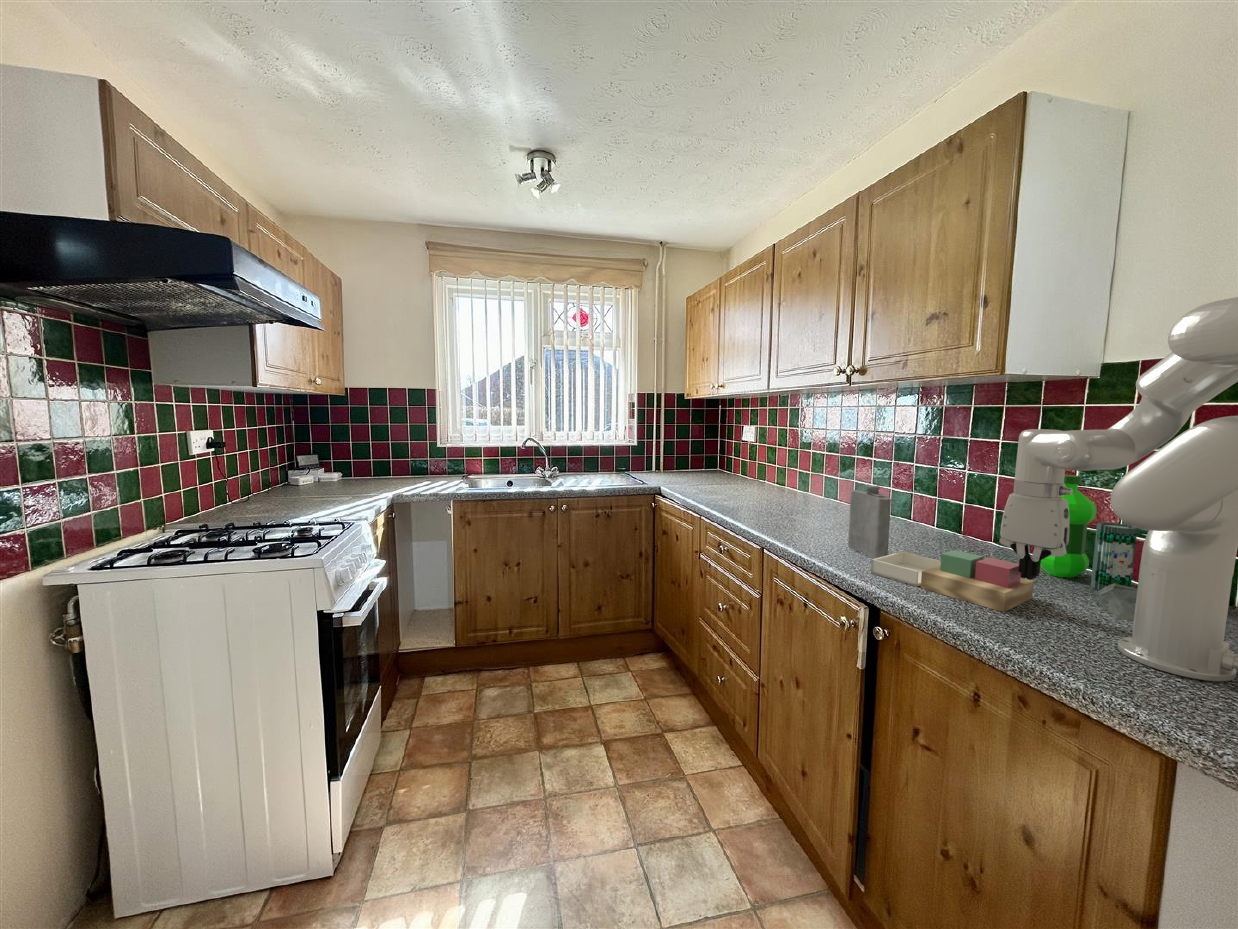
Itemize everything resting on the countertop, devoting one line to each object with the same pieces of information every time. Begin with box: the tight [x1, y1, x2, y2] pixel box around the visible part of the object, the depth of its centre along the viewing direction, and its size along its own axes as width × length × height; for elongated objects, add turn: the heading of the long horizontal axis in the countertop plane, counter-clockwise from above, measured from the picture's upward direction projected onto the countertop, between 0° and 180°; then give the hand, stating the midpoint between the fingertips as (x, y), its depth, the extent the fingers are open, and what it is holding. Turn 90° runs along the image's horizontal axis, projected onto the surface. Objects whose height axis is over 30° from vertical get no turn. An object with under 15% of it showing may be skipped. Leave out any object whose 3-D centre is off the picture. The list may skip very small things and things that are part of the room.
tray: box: [870, 550, 941, 587], centre depth 120 cm, size 11×14×4 cm
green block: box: [940, 549, 985, 578], centre depth 110 cm, size 6×6×4 cm
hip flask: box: [847, 484, 892, 560], centre depth 137 cm, size 16×4×20 cm, turn 5°
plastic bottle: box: [1040, 474, 1098, 578], centre depth 120 cm, size 10×10×25 cm
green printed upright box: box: [1090, 522, 1139, 591], centre depth 110 cm, size 6×6×15 cm
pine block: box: [920, 565, 1035, 613], centre depth 108 cm, size 16×14×4 cm
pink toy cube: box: [975, 557, 1021, 588], centre depth 104 cm, size 6×6×4 cm
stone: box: [1095, 583, 1138, 622], centre depth 97 cm, size 11×4×10 cm
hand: (1028, 577), depth 100 cm, fingers closed
